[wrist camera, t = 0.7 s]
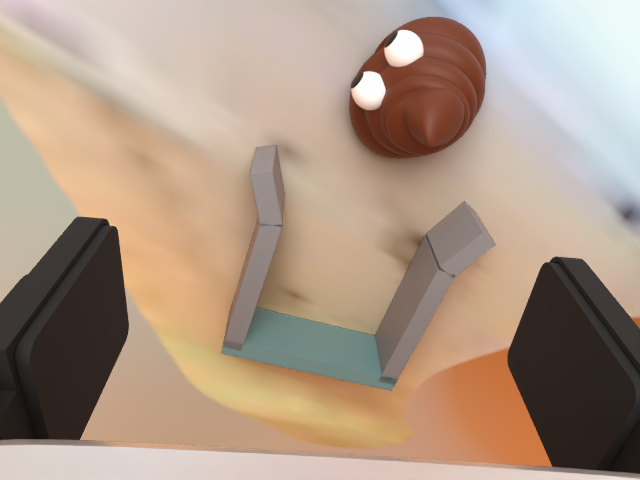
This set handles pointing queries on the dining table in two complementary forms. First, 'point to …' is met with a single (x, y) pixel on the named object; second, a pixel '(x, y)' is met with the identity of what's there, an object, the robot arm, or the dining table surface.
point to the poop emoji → (419, 89)
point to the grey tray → (330, 341)
